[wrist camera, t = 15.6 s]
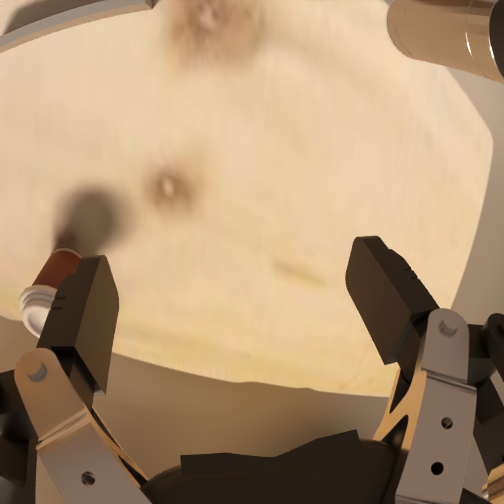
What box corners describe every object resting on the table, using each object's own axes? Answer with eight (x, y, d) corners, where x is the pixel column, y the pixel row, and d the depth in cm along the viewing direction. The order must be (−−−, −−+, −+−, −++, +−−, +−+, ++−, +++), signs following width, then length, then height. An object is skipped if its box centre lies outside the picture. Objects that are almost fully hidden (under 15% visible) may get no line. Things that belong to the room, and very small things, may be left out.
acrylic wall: (152, -1, 25) (145, -8, 21) (152, 9, 25) (145, 3, 21) (-3, 45, 22) (-25, 49, 18) (-2, 54, 23) (-24, 58, 19)
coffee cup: (31, 257, 40) (2, 313, 31) (68, 229, 39) (40, 287, 30) (69, 295, 46) (50, 354, 36) (107, 273, 45) (92, 335, 35)
